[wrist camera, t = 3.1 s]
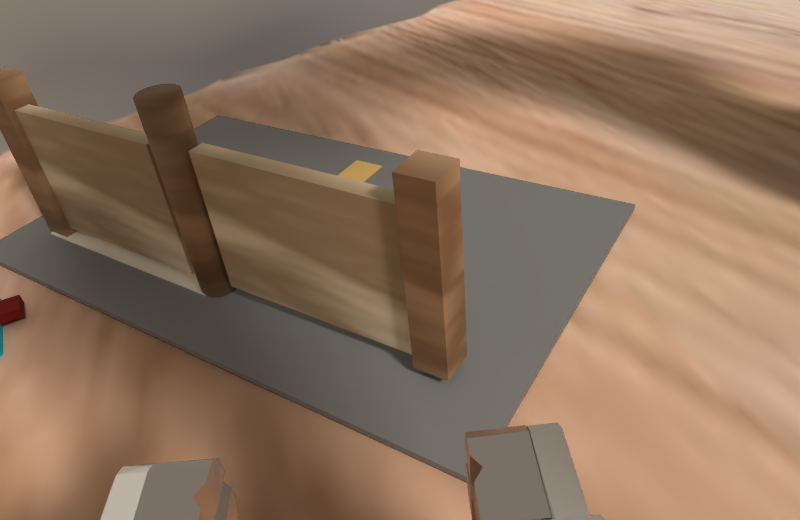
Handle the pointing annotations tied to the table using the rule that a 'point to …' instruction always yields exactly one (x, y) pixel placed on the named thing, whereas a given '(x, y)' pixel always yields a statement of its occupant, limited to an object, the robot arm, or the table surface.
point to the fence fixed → (118, 177)
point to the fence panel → (347, 247)
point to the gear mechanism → (10, 314)
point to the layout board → (344, 350)
